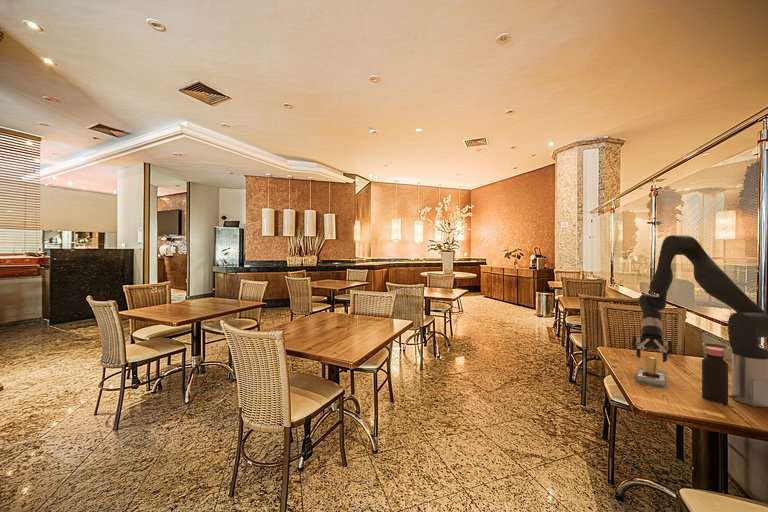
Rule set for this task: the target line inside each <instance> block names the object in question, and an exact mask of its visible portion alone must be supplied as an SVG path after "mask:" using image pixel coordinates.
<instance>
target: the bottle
mask: <svg viewBox="0 0 768 512" xmlns="http://www.w3.org/2000/svg"><path fill="white" fill-rule="evenodd" d="M704 352H705V353H706V354H705V353H704V354H705V357H704V358H703V359H702V360H701V397H702V399H704V400H706V401H709V402H711V403H717V404H722V407H723V406H728V404H729V363H727V361H726V360H725V361H724V360H723V357H724V349H721V348H717V347H705V349H704ZM706 355H707V357H706Z"/></svg>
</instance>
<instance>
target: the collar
mask: <svg viewBox="0 0 768 512" xmlns="http://www.w3.org/2000/svg"><path fill="white" fill-rule="evenodd" d="M637 371H638V370H637ZM638 382H643V383H648V384H653V385H658V386H663V387H665V377H664V374H659V373H657V378H654V377H648V376H645V371H643V370H639V371H638Z"/></svg>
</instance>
